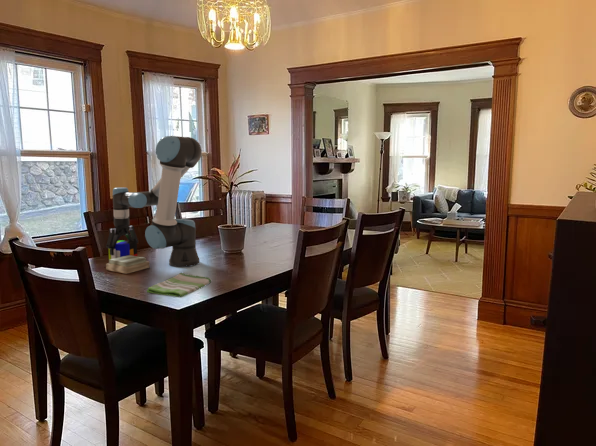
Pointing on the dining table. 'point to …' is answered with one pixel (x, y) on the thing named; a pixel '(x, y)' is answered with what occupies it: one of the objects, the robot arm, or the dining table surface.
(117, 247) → the puzzle toy
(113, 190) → the robot arm
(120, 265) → the plinth
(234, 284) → the dining table surface
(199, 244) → the dining table surface
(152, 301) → the dining table surface
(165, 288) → the dish towel
